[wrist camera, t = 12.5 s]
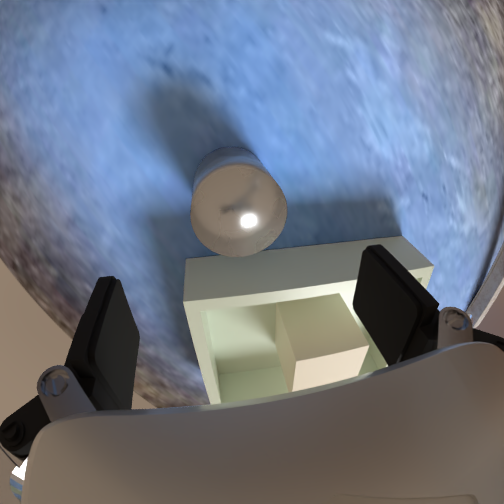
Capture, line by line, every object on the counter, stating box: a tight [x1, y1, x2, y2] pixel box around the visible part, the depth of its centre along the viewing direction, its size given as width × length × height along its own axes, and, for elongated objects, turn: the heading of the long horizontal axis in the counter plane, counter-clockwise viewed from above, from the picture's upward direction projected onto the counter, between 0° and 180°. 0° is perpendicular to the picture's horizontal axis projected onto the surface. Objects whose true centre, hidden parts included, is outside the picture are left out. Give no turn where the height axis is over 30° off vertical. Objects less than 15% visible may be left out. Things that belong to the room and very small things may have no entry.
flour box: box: [275, 293, 369, 392], centre depth 25 cm, size 6×6×7 cm
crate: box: [183, 236, 434, 404], centre depth 26 cm, size 16×20×5 cm
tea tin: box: [190, 147, 287, 257], centre depth 18 cm, size 5×5×6 cm
